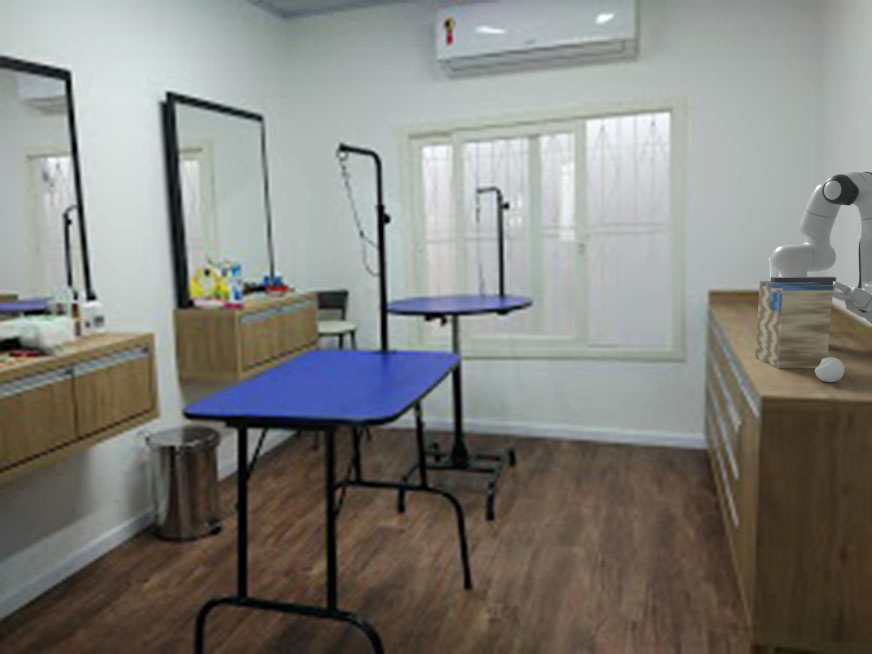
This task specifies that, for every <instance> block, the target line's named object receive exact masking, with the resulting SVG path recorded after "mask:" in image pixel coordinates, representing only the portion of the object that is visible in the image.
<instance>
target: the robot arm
mask: <svg viewBox="0 0 872 654" xmlns="http://www.w3.org/2000/svg"><path fill="white" fill-rule="evenodd" d="M851 205H854V206H855V207H857V209H858V211H859V215H860V216H859V217H860V222H861V223H860V225H861V236H860V239H859V242H858V276H859V277H858V284H857V286H851V285H846V284H843V283H841V282H839V281H838V280H836V281H834V282H833V283H832V286H833V296H832V298H834V299H837V300H839V301H844V304H845V308H846V309H847V311H849V312H850V313H851V312H852V314H855V315H857V316H858V317H860V318H863V319H864V320H866V321H867V322H868V323H869V324H872V172H870V171H852V172H846V173H843V174H842V173H841V174H835V175H833V176H831V177H829V178H827V179H826V180H825V181H824V182H822V183H819V184H818V185H817V186H816V187H815V188H814V190H813V191H812V193H811V195H810V197H809V199H808V201H807V204H806V206H805V209H804V211H803V214H802V216H801V220H800V221H799V222H800V223H799V224H798V225H799V227H798V228H799V231H800V232H801V233H802V234H803V235H804V236H805V238H804V242H803V243H801V244H800V243H796V244H795V243H793V244H791V243H790V244H785V245H781V246H778V247H776V248H775V249H774V250H773V252H772V254H771V262H772V265H773V267H774V268H775V269H776V270H777V271H778V272H779V273H780V274H781V276H782V277H808V272H809V273H810V272H811V273H813V272H815V273H816V272H821V271H822V272H823V271H824V270H828V269H831V268H832V267H833V266H834V265H835V263H836V259H837V254H836V251H835V249H834V248H833V247H832V245H831V240H830V239H831V233H832V229H833V227H834V224H835V221H836V218H837V215H838V214H839V211H840V208H841V206H851Z"/></svg>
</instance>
